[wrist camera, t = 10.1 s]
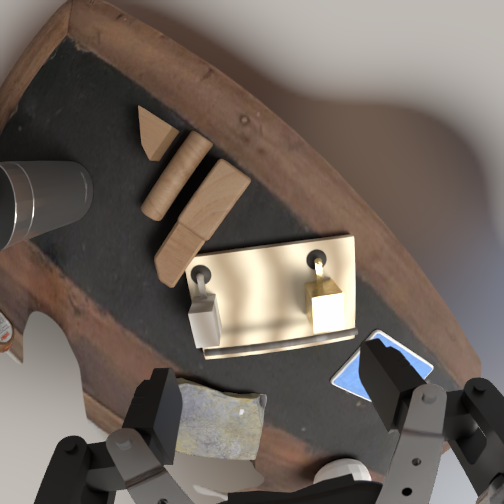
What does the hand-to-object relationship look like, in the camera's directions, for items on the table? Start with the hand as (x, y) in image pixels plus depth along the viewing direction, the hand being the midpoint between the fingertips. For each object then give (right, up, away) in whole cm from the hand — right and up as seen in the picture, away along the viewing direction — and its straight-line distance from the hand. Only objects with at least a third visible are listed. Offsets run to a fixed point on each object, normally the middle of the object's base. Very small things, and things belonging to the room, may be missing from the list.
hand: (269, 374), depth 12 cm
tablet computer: (+24, -17, +36) cm, 47 cm away
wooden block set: (-12, +13, +27) cm, 33 cm away
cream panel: (+3, -2, +31) cm, 31 cm away
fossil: (-7, -25, +37) cm, 46 cm away
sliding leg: (+8, 0, +29) cm, 30 cm away
